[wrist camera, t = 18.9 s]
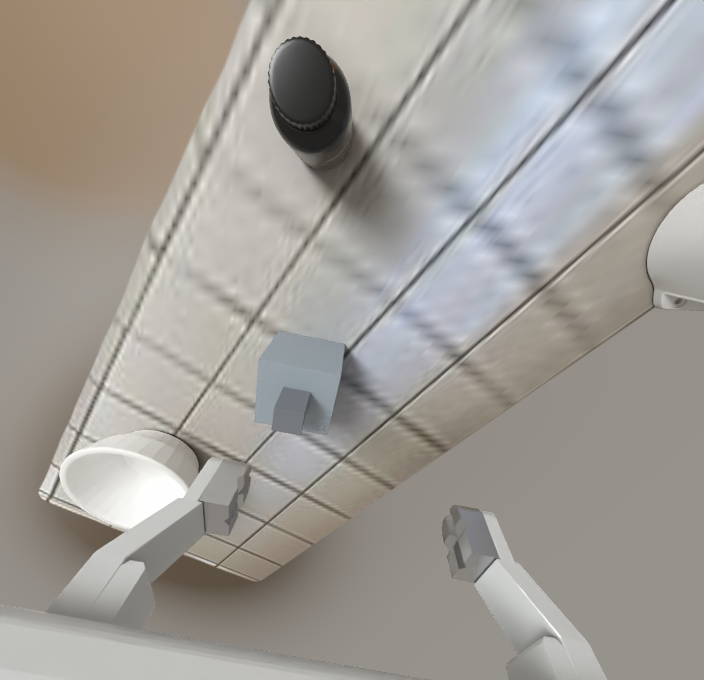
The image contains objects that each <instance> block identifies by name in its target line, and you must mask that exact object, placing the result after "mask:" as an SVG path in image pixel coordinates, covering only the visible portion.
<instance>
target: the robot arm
mask: <svg viewBox="0 0 704 680" xmlns="http://www.w3.org/2000/svg"><path fill="white" fill-rule="evenodd" d="M647 268H648V273H649V276H650V278H651V280H652V282H653V285H654V296H653V304H654V306H655V307H656V308H661V309H666V310H697V311H698V310H699V311H704V183H703V184H701V185H700V186H698V187H697V188H696V189H694V190H693V191H692V192H690V193H689V194H688V195H687V196H685V197H684V198H683V199H682V200H681V201H680V202H679V203H678V204H677V205H676V206H675V207H674V208H673V209H672V210H671V211H670V213H669V214H668V215H667V216H666V218H665V219H664V220H663V222H662V223H661V225H660V226H659V228H658V230H657V231H656V233H655V235H654V237H653V239H652V242H651V245H650V248H649V252H648V257H647ZM250 472H251V465H249V464H244V463H240V462H235V461H230V460H226V459H221V458H216V457H211V458H210V459H209V460H208V461H207V462H206V464H205V465H204V467H203V468H202V470H201V471H200V473H199V474H198V476H197V477H196V479H195V480H194V482H193V483H192V485H191V486H190V488H189V489H188V491H187V492H186V494H185V495H184V497H183V498H177V499H175V500H174V501H172V502H171V503H169V504H168V505H166V506H165V507H163V508H162V509H160V510H159V511H157V512H156V513H154V514H152V515H151V516H149V517H148V518H146V519H145V520H143V521H142V522H140V523H139V524H137V525H136V526H134V527H133V528H131V529H129V530H128V531H126V532H125V533H123V534H122V535H120V536H119V537H118V538H116V539H114V540H113V541H111V542H110V543H108V544H106V545H105V546H103V547H102V548H100V549H99V550H97V551H96V552H95V553H94V554H93V555H92V556H91V558H90V559H89V560H88V561H87V562H86V564H85V565H84V566H83V567H82V569H81V570H80V571H79V572H78V573H77V575H76V576H75V577H74V578H73V579H72V581H71V582H70V583H69V584H68V586H67V587H66V588H65V589H64V590H63V592H62V593H61V594H60V595H59V597H58V598H57V599H56V600H55V601H54V602H53V604H52V605H51V606H50V607H49V609H48V610H47V611H46V612H41V611H34V610H29V609H23V608H18V607H12V606H6V605H1V604H0V680H426V679H421V678H416V677H410V676H404V675H398V674H392V673H387V672H381V671H376V670H370V669H365V668H359V667H353V666H348V665H342V664H336V663H330V662H325V661H319V660H313V659H308V658H302V657H296V656H291V655H285V654H279V653H274V652H268V651H262V650H257V649H251V648H245V647H239V646H234V645H228V644H222V643H217V642H211V641H205V640H199V639H194V638H188V637H183V636H177V635H170V634H166V633H160V632H154V631H148V630H143V628H144V626H145V624H146V622H147V620H148V618H149V616H150V614H151V613H152V611H153V609H154V607H155V605H156V603H155V597H154V594H153V590H152V587H151V583H152V582H153V581H154V580H155V579H156V578H157V577H158V576H160V575H161V574H162V573H163V572H164V571H165V570H166V569H167V568H168V567H169V566H171V565H172V564H173V563H174V562H175V561H176V560H177V559H178V558H179V557H180V556H181V555H183V554H184V553H185V552H186V551H187V550H188V549H189V548H190V547H191V546H192V545H194V544H195V543H196V542H197V541H198V540H199V539H200V538H201V537H202V536H203V535H205V532H206V533H212V534H218V535H225V536H229V535H230V532H231V530H232V528H233V526H234V524H235V521H236V519H237V517H238V508H239V507H240V506H241V505H243V503H244V501H245V499H246V496H247V493H248V490H249V487H250V481H251V478H250V476H249V474H250ZM450 513H451V514H450V515H447V516H446V517H445V518H444V520H443V524H442V536H443V541H444V544H445V545H446V546H447V548H448V549H449V553H448V555H447V559H448V563H449V567H450V572H451V576H452V578H453V579H457V580H462V581H466V582H471V583H475V584H474V586H475V587H476V588H477V590H478V592H479V593H480V595H481V597H482V598H483V600H484V602H485V603H486V605H487V606H488V608H489V610H490V611H491V613H492V615H493V616H494V618H495V619H496V621H497V623H498V624H499V626H500V628H501V629H502V631H503V632H504V634H505V636H506V637H507V639H508V640H509V642H510V644H511V646H512V647H513V649H514V650H515V652H516V653H517V656H516V657H514V658H513V659H511V660H510V661H509V662H508V663H507V665H506V671H507V674H508V678H509V680H607V678H606V677H605V675H604V673H603V671H602V669H601V667H600V665H599V663H598V661H597V659H596V657H595V655H594V653H593V651H592V649H591V647H590V645H589V643H588V642H587V641H586V640H585V639H584V637H583V636H582V635H581V634H580V633H579V632H578V631H577V629H576V628H575V627H574V626H573V625H572V624H571V623H570V621H569V620H568V619H567V618H566V617H565V616H564V615H563V613H562V612H561V611H560V610H559V609H558V608H557V607H556V605H555V604H554V603H553V602H552V601H551V600H550V598H549V597H548V596H547V595H546V594H545V593H544V592H543V590H542V589H540V587H539V586H538V585H537V584H536V582H535V581H534V580H533V579H532V578H531V577H530V576H529V575H528V573H527V572H526V571H525V570H524V569H523V568H522V566H521V565H520V564H519V563H516V562H514V559H513V557H512V555H511V552H510V550H509V548H508V545H507V543H506V540H505V538H504V536H503V533H502V531H501V528H500V526H499V524H498V521H497V519H496V517H495V515H494V514H493V513H492V512H489V511H484V510H478V509H475V508H470V507H464V506H458V505H453V506H452V507H451V509H450Z"/></svg>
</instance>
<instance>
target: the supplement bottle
mask: <svg viewBox="0 0 704 680" xmlns="http://www.w3.org/2000/svg"><path fill="white" fill-rule="evenodd" d="M269 67H270V70H269V72H268V75H269V80H268V83H269V86H270V88H269V91H270V93H269V102H270V110H271V114H272V118H273V121H274V124H275V126H276V128H277V130H278V132H279V133H280V135H281V136H282V138H283V139H284V140H285V142H286V143H287V144H288V145H289V146H290V147H291V148H292V149H293V151H294V152H295V153H296V154H297V155H298V156H299V157H300V158H301V159H302V160H303V161H304V162H305V163H306V164H307V165H309V166H311V167H313V168H315V169H320V170H326V169H331V168H333V167H335V166H337V165H338V164H340V163H341V162H342V161H343V159H344V158H345V157H346V155H347V153H348V151H349V149H350V146H351V142H352V109H351V97H350V91H349V87H348V83H347V81H346V78H345V76H344V74H343V72H342V70H341V69H340V67H339V66H338V65H337V63H336V62H335V61H334V60H333V59H332V58H331V57H330V56H328V55H327V54H326V52H325V51H324V50H322V48H321V46H320V45H318V44H316V43H315V41H314V40H310V39H309V38H307V37H306V38H303V37H301V36H299V37H297V38H296V37H292V38H291V39H287V40H286V41H285V42H284V43H281V45H280V47H279V48H277V49H276V51H275V54H274V55H273V56H272V61H271V62H270V64H269Z"/></svg>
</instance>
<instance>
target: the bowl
mask: <svg viewBox="0 0 704 680" xmlns="http://www.w3.org/2000/svg"><path fill="white" fill-rule="evenodd" d="M198 469H199V464H198V460H197V457H196V455H195V454H194V452H193V451H192V450H191V449H190V448H189V447H188V446H187V445H186V444H185V443H183V442H182V441H181V440H179V439H177V438H175V437H174V436H171V435H169V434H166V433H163V432H159V431H154V430H138V431H134V432H131V433H129V434H124V435H114V436H109V437H107V438H105V439H102V440H100V441H98V442H96V443H94V444H92V445H89V446H87V447H85V448H83V449H81V450H79V451H77V452H74V453H72V454H71V455H70V456H68V457H67V458H66V459H65V460H64V462H63V464H62V465H61V467H60V474H59V476H60V481H61V484H62V486H63V488H64V490H65V492H66V493H67V494H68V496H69V497H70V498H71V499H72V500H73V501H74V502H75V503H76V504H77V505H78V506H79V507H80V508H82V509H83V510H85V511H86V512H87V513H89V514H90V515H92V516H94V517H96V518H98V519H100V520H102V521H104V522H106V523H108V524H111V525H113V526H117V527H120V528H123V529H127V530H129V529H131V528H133V527H134V526H136V525H137V524H139V523H140V522H142V521H143V520H145V519H146V518H148V517H149V516H151V515H152V514H154V513H156V512H157V511H159V510H160V509H162V508H163V507H165V506H166V505H168V504H169V503H171V502H172V501H174V500H175V499H177V498H183V497H184V495H185V494H186V492H187V491H188V489H189V488H190V486H191V485H192V483H193V482H194V480H195V479H196V477H197V476H198Z"/></svg>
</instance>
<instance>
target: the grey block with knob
mask: <svg viewBox="0 0 704 680" xmlns="http://www.w3.org/2000/svg"><path fill="white" fill-rule="evenodd" d="M344 348H345V344H341V343H336V342H331V341H327V340H322V339H317V338H312V337H307V336H303V335H298V334H293V333H288V332H283V331H279V332H278V333H277V335H276V336H275V337H274V339H273V340H272V342H271V343H270V344H269V346H268V347H267V349H266V350H265V351H264V353H263V354H262V356H261V357H260V358H259V364H258V378H257V392H256V406H255V420H254V422H257V423H263V424H268V425H272V430H274V431H279V432H285V433H290V434H296V435H301V432H302V431H306V432H312V433H317V434H323V435H327V433H328V429H329V425H330V420H331V416H332V412H333V408H334V404H335V399H336V395H337V391H338V387H339V383H340V378H341V373H342V364H343V356H344Z"/></svg>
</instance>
